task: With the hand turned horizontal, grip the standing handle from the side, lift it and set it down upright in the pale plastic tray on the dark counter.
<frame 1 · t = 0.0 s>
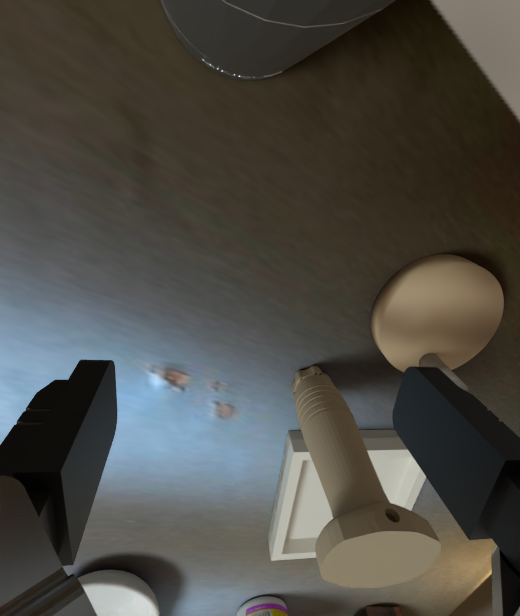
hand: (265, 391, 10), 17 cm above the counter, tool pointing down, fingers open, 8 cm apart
white spoon: (117, 608, 45), on the counter
tray: (341, 486, 39), on the counter
crank wheel: (428, 312, 31), on the counter
supplement bottle: (261, 605, 49), on the counter
handle: (308, 377, 32), on the counter
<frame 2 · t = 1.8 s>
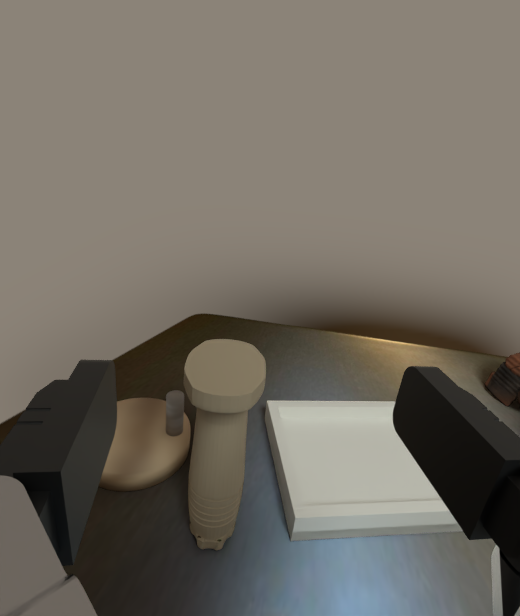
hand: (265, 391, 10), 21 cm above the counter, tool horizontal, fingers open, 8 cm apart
tray: (355, 467, 36), on the counter
crank wheel: (136, 447, 35), on the counter
handle: (211, 534, 28), on the counter
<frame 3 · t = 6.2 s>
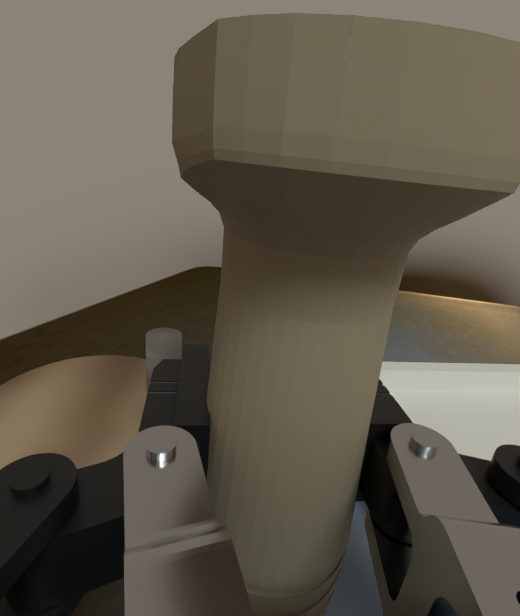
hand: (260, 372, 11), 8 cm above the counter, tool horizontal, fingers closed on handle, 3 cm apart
tray: (504, 475, 19), on the counter
crank wheel: (91, 440, 19), on the counter
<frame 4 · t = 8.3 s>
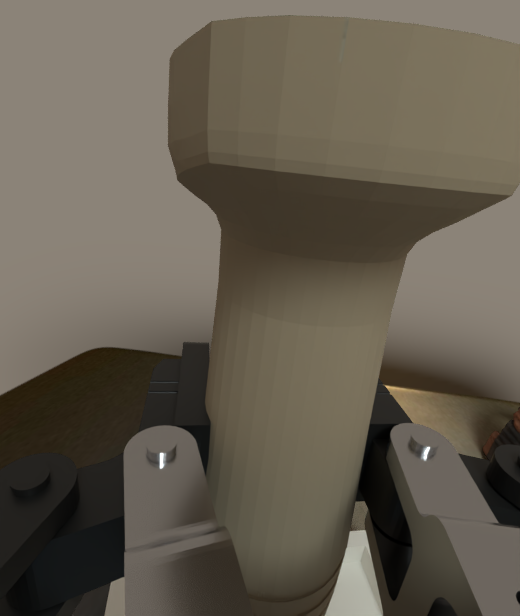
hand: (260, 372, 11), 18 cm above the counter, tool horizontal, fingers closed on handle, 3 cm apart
when the fingers open (10 cm above the counter, at t = 10.5 s): handle drops 1 cm, resting on tray.
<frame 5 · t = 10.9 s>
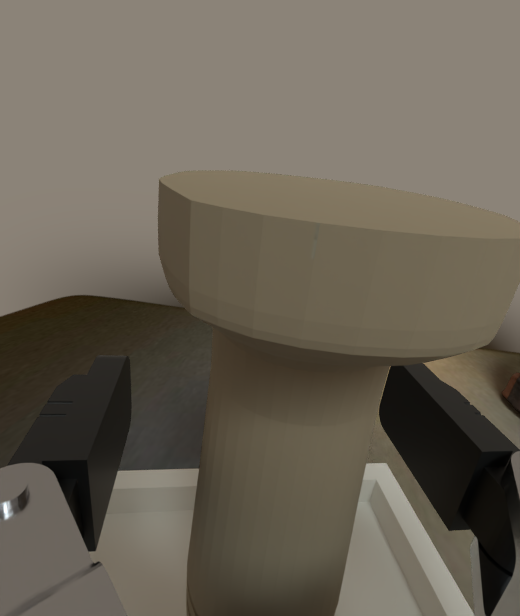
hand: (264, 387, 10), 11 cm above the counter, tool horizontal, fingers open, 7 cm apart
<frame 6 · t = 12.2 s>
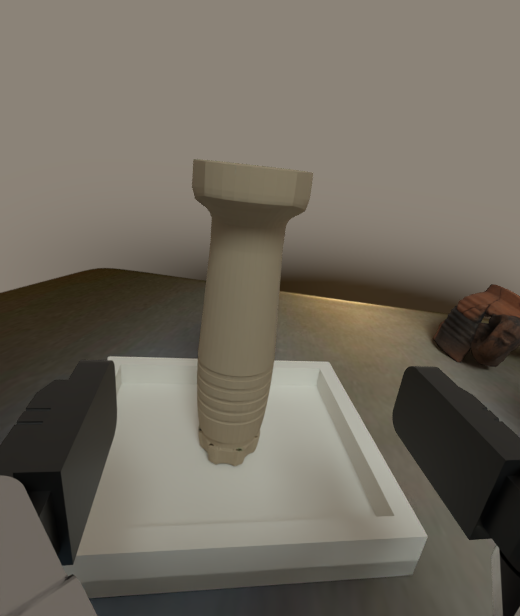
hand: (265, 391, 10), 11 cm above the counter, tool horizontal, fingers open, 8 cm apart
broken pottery: (483, 360, 38), on the counter
tray: (225, 458, 22), on the counter
handle: (227, 450, 21), point 1 cm above the counter, touching tray
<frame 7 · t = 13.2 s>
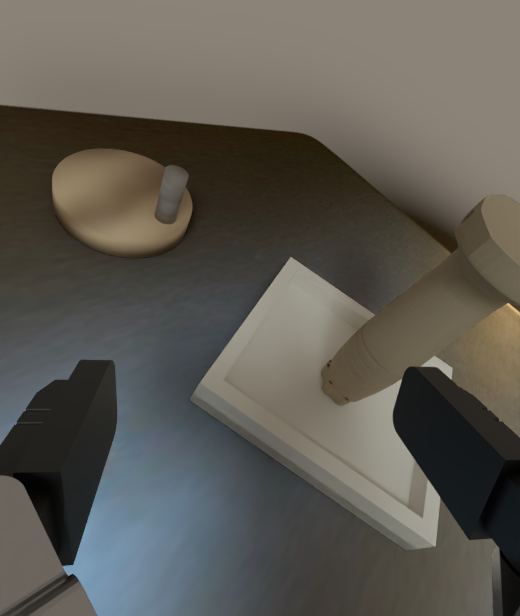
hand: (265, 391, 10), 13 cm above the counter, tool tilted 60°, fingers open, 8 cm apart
tray: (330, 388, 27), on the counter
crank wheel: (124, 210, 30), on the counter
handle: (335, 387, 27), point 1 cm above the counter, touching tray
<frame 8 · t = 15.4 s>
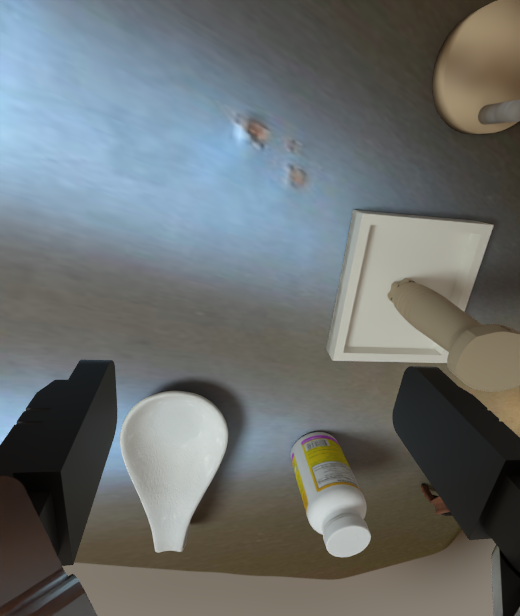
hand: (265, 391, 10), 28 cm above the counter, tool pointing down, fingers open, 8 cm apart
white spoon: (176, 454, 47), on the counter
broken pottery: (440, 461, 54), on the counter
tray: (398, 288, 41), on the counter
crank wheel: (483, 74, 34), on the counter
supplement bottle: (313, 448, 49), on the counter
handle: (399, 290, 41), point 1 cm above the counter, touching tray
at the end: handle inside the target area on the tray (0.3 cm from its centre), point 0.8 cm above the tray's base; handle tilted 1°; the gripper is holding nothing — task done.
